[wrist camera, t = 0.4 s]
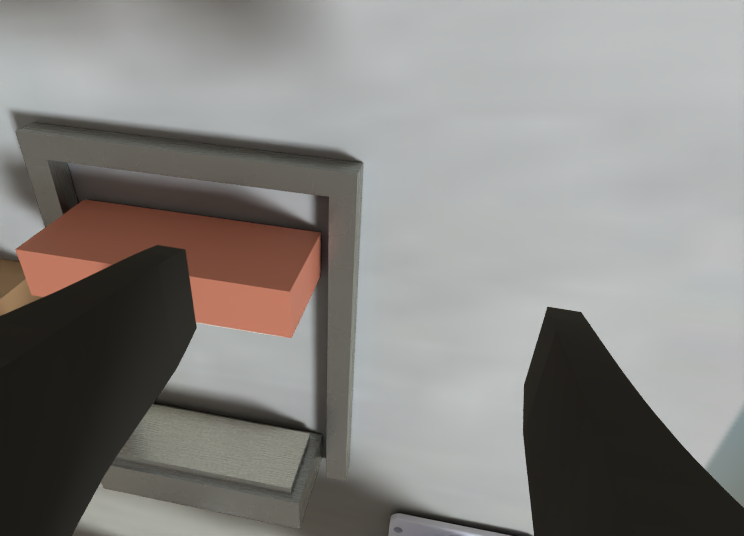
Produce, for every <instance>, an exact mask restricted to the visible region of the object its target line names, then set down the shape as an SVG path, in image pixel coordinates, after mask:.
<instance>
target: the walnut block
mask: <svg viewBox="0 0 744 536" xmlns="http://www.w3.org/2000/svg"><path fill="white" fill-rule="evenodd" d="M40 298H43V297H40V296H34V295H31V292H30V289H29V286H28V283H27V281H26V278H25V275H24V272H23V269H22V266H21V264H20V262H17V261H11V260H4V259H0V316H1V315H3V314H6V313H8V312H10V311H13V310H15V309H17V308H20V307H22V306H24V305H26V304H29V303H31V302H33V301H36V300H38V299H40Z"/></svg>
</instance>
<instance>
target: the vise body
mask: <svg viewBox="0 0 744 536" xmlns="http://www.w3.org/2000/svg"><path fill="white" fill-rule="evenodd" d="M15 132H16V135H17V138H18V142H19V145H20V148H21V151H22V154H23V158H24V161H25V164H26V167H27V170H28V174H29V177H30V180H31V183H32V186H33V190H34V193H35V196H36V199H37V202H38V206H39V209H40V212H41V215H42V218H43V222H44V225H45V227H47V226H48V225H50V224H51V223H52V222H54V221H55V220H56V219H58V218H59V217H61V216H62V215H63V214H65V213H66V212H67V211H69V210H70V209H72V208H73V207H74V206H76V205H77V204H78V201H77V198H76V194H75V190H74V187H73V183H72V179H71V175H70V172H69V168H68V164H67V162H69V163H76V164H84V165H92V166H99V167H107V168H114V169H122V170H129V171H137V172H145V173H152V174H160V175H167V176H175V177H183V178H190V179H198V180H205V181H213V182H220V183H228V184H236V185H243V186H251V187H258V188H266V189H274V190H281V191H289V192H296V193H304V194H311V195H319V196H327V197H329V242H328V339H327V435H326V477H328V478H333V479H338V480H343V481H345V479H346V475H347V472H348V468H349V460H350V438H351V417H352V395H353V374H354V352H355V330H356V309H357V287H358V266H359V244H360V223H361V201H362V179H363V163H359V162H350V161H342V160H334V159H326V158H318V157H310V156H302V155H294V154H286V153H277V152H269V151H261V150H253V149H245V148H237V147H229V146H221V145H213V144H204V143H196V142H188V141H180V140H172V139H164V138H156V137H148V136H140V135H132V134H123V133H115V132H107V131H99V130H91V129H83V128H75V127H67V126H59V125H50V124H42V123H34V122H33V123H31V124H29V125H27V126H25V127H23V128H21V129H19V130H17V131H15ZM321 460H322V434H317V433H312V432H307V431H301V430H296V429H290V428H285V427H280V426H274V425H269V424H263V423H258V422H253V421H247V420H242V419H237V418H231V417H226V416H220V415H215V414H210V413H204V412H199V411H193V410H188V409H183V408H177V407H172V406H167V405H161V404H156V403H153V404H152V406H151V407H150V409H149V410H148V412H147V413H146V414H145V416H144V417H143V419H142V420H141V422H140V423H139V425H138V426H137V427H136V429H135V430H134V432H133V433H132V435H131V436H130V438H129V439H128V441H127V442H126V443H125V445H124V446H123V448H122V449H121V451H120V452H119V454H118V455H117V456H116V458H115V460H114V461H113V463H112V464H111V466H110V467H109V469H108V471H107V472H106V474H105V475H104V477H103V479H102V480H101V482H102V485H103V487H104V488H105V489H110V490H115V491H119V492H124V493H129V494H134V495H139V496H143V497H148V498H153V499H158V500H163V501H167V502H172V503H177V504H182V505H187V506H191V507H196V508H201V509H206V510H211V511H215V512H220V513H225V514H230V515H235V516H239V517H244V518H249V519H254V520H259V521H264V522H268V523H273V524H278V525H283V526H288V527H292V528H297V529H300V527H301V524H302V521H303V517H304V514H305V511H306V508H307V505H308V501H309V498H310V495H311V492H312V489H313V485H314V482H315V479H316V476H317V473H318V469H319V466H320V463H321Z"/></svg>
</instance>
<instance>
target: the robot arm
mask: <svg viewBox="0 0 744 536" xmlns="http://www.w3.org/2000/svg"><path fill="white" fill-rule="evenodd" d="M196 328H197V327H196V320H195V313H194V306H193V299H192V291H191V284H190V277H189V270H188V263H187V256H186V249H180V248H174V247H168V246H162V245H156V246H153V247H151V248H148V249H146V250H143V251H141V252H139V253H136V254H134V255H132V256H130V257H128V258H126V259H123V260H121V261H119V262H117V263H115V264H113V265H111V266H109V267H107V268H105V269H103V270H101V271H98V272H96V273H94V274H92V275H90V276H88V277H86V278H84V279H82V280H80V281H78V282H75V283H73V284H71V285H69V286H67V287H65V288H63V289H61V290H59V291H56V292H54V293H52V294H49V295H47V296H45V297H43V298H40V299H38V300H36V301H33V302H31V303H29V304H26V305H24V306H22V307H20V308H17V309H15V310H13V311H10V312H8V313H6V314H3V315H1V316H0V536H72V534H73V532H74V530H75V528H76V526H77V524H78V522H79V521H80V519H81V517H82V515H83V513H84V512H85V510H86V508H87V506H88V504H89V502H90V501H91V499H92V497H93V495H94V493H95V491H96V490H97V488H98V486H99V484H100V482H101V480H102V479H103V477H104V475H105V474H106V472H107V471H108V469H109V467H110V466H111V464H112V463H113V461H114V460H115V458H116V456H117V455H118V454H119V452H120V451H121V449H122V448H123V446H124V445H125V443H126V442H127V441H128V439H129V438H130V436H131V435H132V433H133V432H134V430H135V429H136V427H137V426H138V425H139V423H140V422H141V420H142V419H143V417H144V416H145V414H146V413H147V412H148V410H149V409H150V407H151V406H152V404H153V403H154V401H155V400H156V398H157V397H158V395H159V394H160V393H161V391H162V390H163V388H164V387H165V385H166V384H167V382H168V381H169V379H170V378H171V376H172V375H173V373H174V372H175V370H176V369H177V367H178V365H179V363H180V361H181V359H182V357H183V355H184V353H185V351H186V349H187V347H188V345H189V343H190V341H191V339H192V336H193V334H194V332H195V330H196ZM523 436H524V446H525V456H526V465H527V474H528V484H529V493H530V502H531V511H532V520H533V529H534V536H744V508H743V507H742V506H741V505H740V504H739V503H738V502H737V501H736V500H735V499H734V498H733V497H732V496H731V495H730V494H729V493H728V492H727V491H726V490H724V488H723V487H721V485H720V484H719V483H718V482H717V481H716V480H715V479H714V478H713V477H712V476H711V475H710V474H709V473H708V472H707V471H706V470H705V469H704V468H703V467H702V466H701V465H700V464H699V463H698V462H697V461H696V460H695V459H694V458H693V457H692V455H691V454H690V453H689V452H688V451H687V450H686V449H685V448H684V447H683V446H682V445H681V443H680V442H679V441H678V440H677V439H676V438H675V437H674V435H673V434H672V433H671V432H670V431H669V429H668V428H667V427H666V426H665V425H664V424H663V422H662V421H661V420H660V419H659V418H658V417H657V415H656V414H655V413H654V412H653V411H652V409H651V408H650V407H649V406H648V404H647V403H646V402H645V401H644V399H643V398H642V397H641V395H640V394H639V393H638V391H637V390H636V389H635V387H634V386H633V385H632V384H631V382H630V381H629V380H628V378H627V377H626V376H625V374H624V373H623V371H622V370H621V369H620V367H619V366H618V364H617V363H616V362H615V360H614V359H613V357H612V356H611V355H610V353H609V352H608V350H607V349H606V347H605V346H604V344H603V343H602V342H601V340H600V339H599V337H598V336H597V334H596V333H595V331H594V330H593V328H592V327H591V326H590V324H589V323H588V321H587V320H586V318H585V317H584V316H583V314H582V313H581V312H577V311H571V310H564V309H558V308H552V307H547V311H546V314H545V317H544V321H543V324H542V327H541V331H540V334H539V337H538V341H537V344H536V347H535V351H534V354H533V357H532V361H531V364H530V367H529V371H528V374H527V377H526V381H525V384H524V409H523ZM388 536H511V535H506V534H501V533H496V532H491V531H486V530H481V529H476V528H471V527H466V526H461V525H456V524H451V523H446V522H441V521H436V520H431V519H426V518H421V517H416V516H411V515H406V514H401V513H396V514H393V515H392V516H391V519H390V525H389V534H388Z"/></svg>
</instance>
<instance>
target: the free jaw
mask: <svg viewBox="0 0 744 536" xmlns="http://www.w3.org/2000/svg"><path fill="white" fill-rule="evenodd" d="M156 245H162V246H168V247H174V248H180V249H186V256H187V263H188V270H189V277H190V284H191V291H192V299H193V306H194V313H195V320H196V323H200V324H206V325H212V326H218V327H224V328H230V329H236V330H242V331H248V332H254V333H260V334H266V335H272V336H278V337H289V338H292V336H293V334H294V332H295V329H296V327H297V325H298V323H299V321H300V319H301V317H302V314H303V312H304V310H305V308H306V306H307V304H308V302H309V299H310V297H311V295H312V293H313V291H314V289H315V287H316V285H317V282H318V280H319V278H320V276H321V233H320V232H313V231H306V230H299V229H292V228H285V227H278V226H270V225H263V224H256V223H249V222H242V221H235V220H228V219H220V218H213V217H206V216H199V215H192V214H185V213H178V212H171V211H163V210H156V209H149V208H142V207H135V206H128V205H121V204H114V203H106V202H99V201H92V200H85V199H84V200H83V201H81V202H80V203H78V204H77V205H76V206H74V207H73V208H72V209H70V210H69V211H67V212H66V213H65V214H63V215H62V216H61V217H59V218H58V219H56V220H55V221H54V222H52V223H51V224H50V225H48V226H47V227H45V228H44V229H43V230H41V231H40V232H39V233H37V234H36V235H34V236H33V237H32V238H30V239H29V240H28V241H26V242H25V243H23V244H22V245H21V246H19V247H18V248H17V249H15V250H16V252H17V255H18V258H19V261H20V264H21V266H22V269H23V272H24V275H25V278H26V281H27V283H28V286H29V289H30V292H31V295H34V296H40V297H45V296H47V295H49V294H52V293H54V292H56V291H59V290H61V289H63V288H65V287H67V286H69V285H71V284H73V283H75V282H78V281H80V280H82V279H84V278H86V277H88V276H90V275H92V274H94V273H96V272H98V271H101V270H103V269H105V268H107V267H109V266H111V265H113V264H115V263H117V262H119V261H121V260H123V259H126V258H128V257H130V256H132V255H134V254H136V253H139V252H141V251H143V250H146V249H148V248H151V247H153V246H156Z"/></svg>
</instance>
